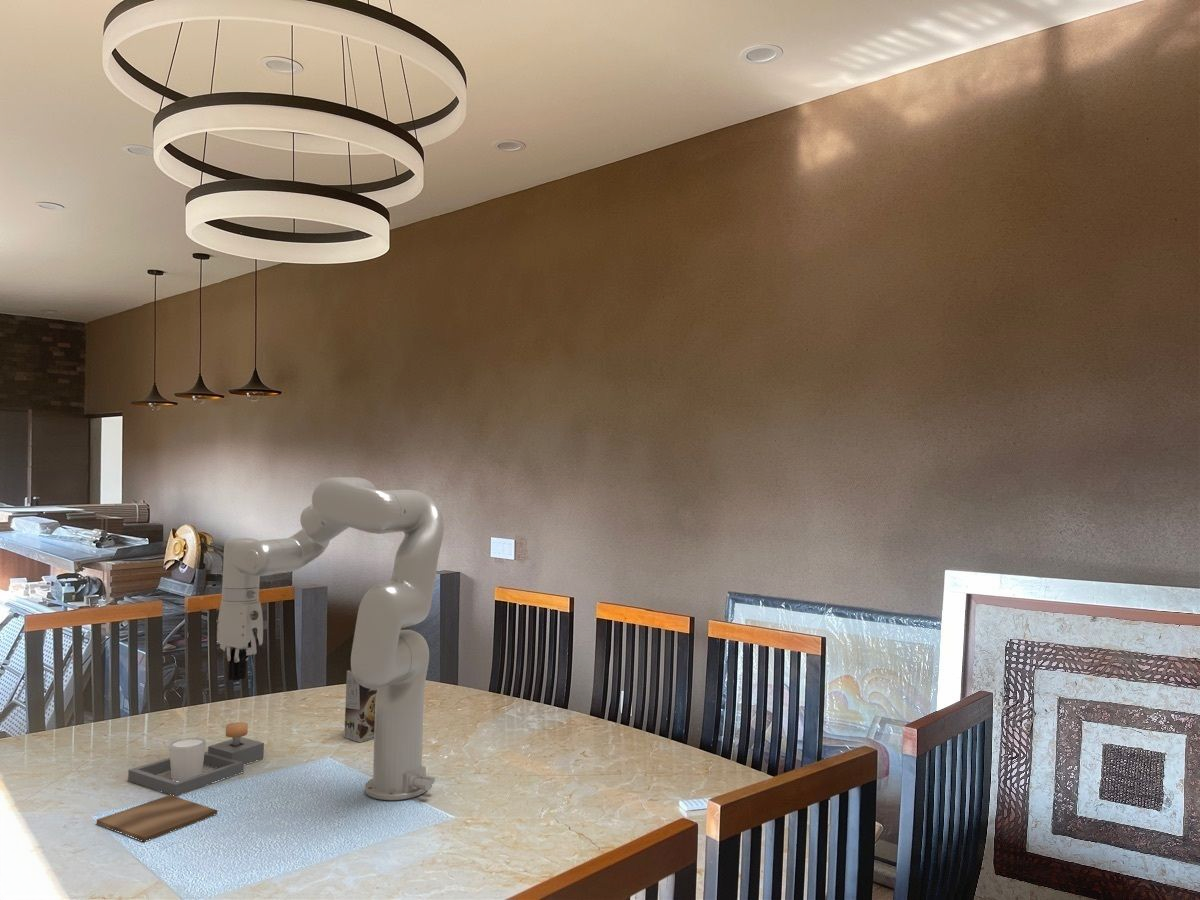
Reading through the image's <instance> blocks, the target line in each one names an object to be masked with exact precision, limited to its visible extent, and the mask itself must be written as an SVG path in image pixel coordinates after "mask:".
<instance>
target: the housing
mask: <svg viewBox="0 0 1200 900" xmlns="http://www.w3.org/2000/svg"><path fill="white" fill-rule="evenodd" d="M232 739H233V738H232ZM232 739H228V740H224V741H221V742H218V743H215V744H211V745H208V746H207V751H205V754H204V762H203V765H204V764H206V765H205V766H207V765H209V766H208V767H210V766H213V767H212V768H214V767H217V768H218V769H217V768H215V769H212V770H209V771H206V772H202V774H200V775H197V776H194V777H191V778H188V779H185V780H182V781H179V782H176V781H173V780H172V779H169V778H166V777H164V776H161V775H159V774H162V773H165V772H168V770H169V771H171V764H170V757H167V758H163V759H161V760H157V761H153V762H150V763H146V764H144V765H141V766H138V767H134V768H131V769H127V771H128V774H127V775H128V776H127V782H130V781H131V783H133V782H135V783H134V784H136V783H137V784H136V785H139V784H140V786H142V787H145V788H148V789H152V790H154V789H155V790H154V791H157V790H158V792H160V791H162V792H161V793H163V792H165V793H164V794H166V793H168V794H167V795H169V794H171V795H174V796H176V795H178V796H180V795H179V794H181V795H183V794H182V793H184V794H186V793H185V792H187V793H189V792H188V791H190V792H192V791H195V790H197V789H196V788H198V789H201V788H203V787H202V786H204V787H206V786H205V785H207V784H210V783H212V782H215V781H218V780H221V779H223V778H227V777H230V776H233V775H235V774H239V773H241V772H243V773H244V770H245V768H244V767H245V765H244V764H247V763H250V762H253V763H255V762H254V761H256V760H259V761H261V760H260V759H262V760H264V759H263V758H264V757H265V756H264V754H265V753H264V751H265V747H264V746H265V743H264V742H262V741H257V740H254V739H249V738H246V737H244V736H242V737H240V746H237V747H233V746H232ZM256 762H257V761H256ZM250 764H251V763H250ZM247 765H248V764H247ZM164 771H165V772H164ZM161 772H162V773H161ZM158 773H159V774H158ZM155 774H156V775H155ZM239 775H240V774H239ZM233 777H234V776H233ZM230 778H231V777H230ZM227 779H228V778H227ZM221 781H222V780H221ZM210 785H211V784H210ZM207 786H208V785H207ZM200 787H201V788H200ZM194 789H195V790H194ZM191 790H192V791H191ZM176 797H177V796H176Z"/></svg>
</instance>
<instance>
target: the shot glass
mask: <svg viewBox="0 0 1200 900" xmlns="http://www.w3.org/2000/svg"><path fill="white" fill-rule="evenodd" d="M206 743H207V741H206V740H205V739H203V738H198V737H197V738H196V737H195V738H194V737H193V738H183V739H179V740H175V741H173V742H171V743H170V744H169V747H168V748H169V758H170V764H171V770H170V775H171V776H170V777H171V778H172V779H171V780H174V781H182V780H185V779H188V778H191V777H194V776H197V775H200V774H203V768H204V764H203V762H204V754H205V752H206Z"/></svg>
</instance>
